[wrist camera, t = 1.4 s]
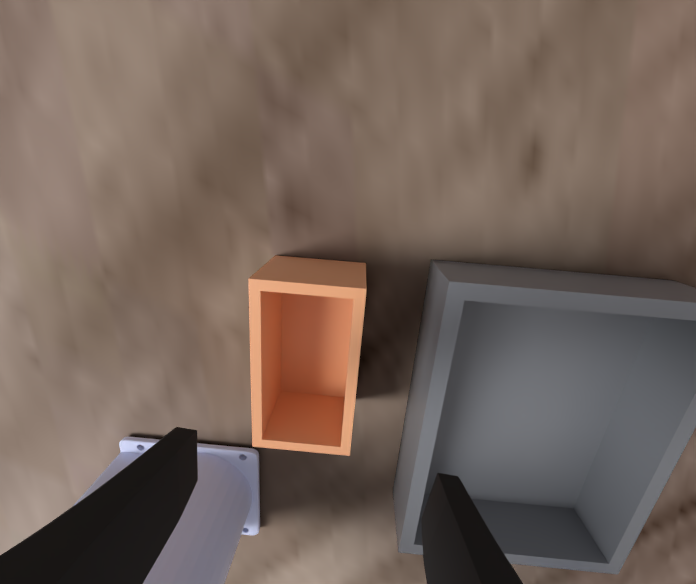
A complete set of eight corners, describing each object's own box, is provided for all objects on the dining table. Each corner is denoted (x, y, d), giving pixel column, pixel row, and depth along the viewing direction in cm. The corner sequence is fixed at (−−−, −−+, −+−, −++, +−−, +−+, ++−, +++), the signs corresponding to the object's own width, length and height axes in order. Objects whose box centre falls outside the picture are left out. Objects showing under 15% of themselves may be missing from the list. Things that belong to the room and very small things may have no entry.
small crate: (274, 392, 21) (252, 446, 17) (275, 255, 18) (248, 278, 14) (352, 399, 21) (349, 455, 17) (365, 263, 18) (366, 288, 14)
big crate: (392, 491, 23) (398, 552, 20) (430, 259, 18) (449, 281, 14) (576, 509, 23) (618, 574, 19) (673, 280, 18) (758, 308, 14)
